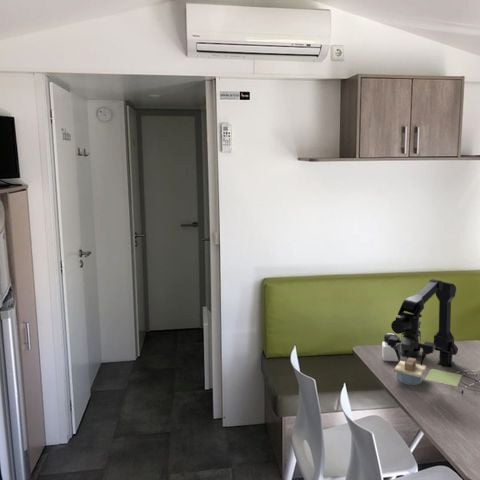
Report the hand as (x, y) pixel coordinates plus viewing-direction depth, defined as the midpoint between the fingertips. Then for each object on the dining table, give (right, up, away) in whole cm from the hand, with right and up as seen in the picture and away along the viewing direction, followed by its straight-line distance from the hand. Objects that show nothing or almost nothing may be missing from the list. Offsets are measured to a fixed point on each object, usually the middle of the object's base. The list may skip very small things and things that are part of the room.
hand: (410, 363), depth 205 cm
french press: (+11, -4, +30) cm, 32 cm away
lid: (0, -3, 0) cm, 3 cm away
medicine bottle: (-1, -5, +25) cm, 26 cm away
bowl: (0, -8, +1) cm, 8 cm away
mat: (+16, -7, +3) cm, 18 cm away
